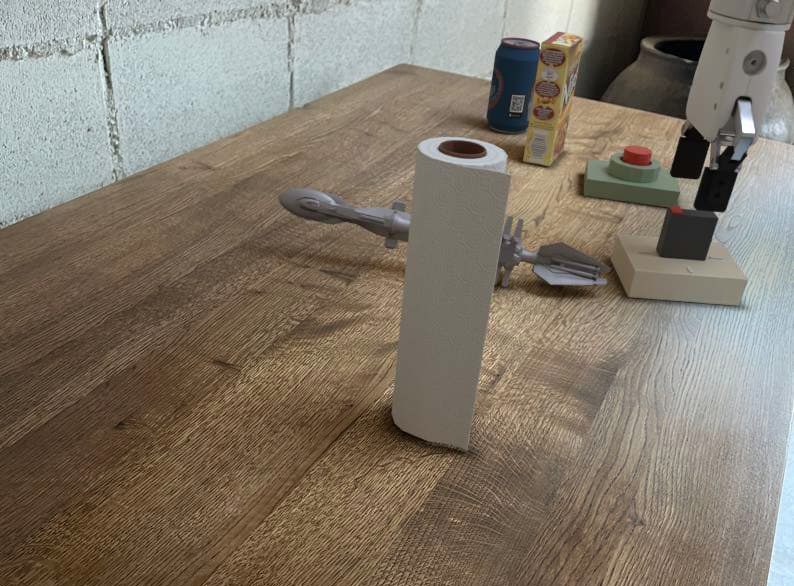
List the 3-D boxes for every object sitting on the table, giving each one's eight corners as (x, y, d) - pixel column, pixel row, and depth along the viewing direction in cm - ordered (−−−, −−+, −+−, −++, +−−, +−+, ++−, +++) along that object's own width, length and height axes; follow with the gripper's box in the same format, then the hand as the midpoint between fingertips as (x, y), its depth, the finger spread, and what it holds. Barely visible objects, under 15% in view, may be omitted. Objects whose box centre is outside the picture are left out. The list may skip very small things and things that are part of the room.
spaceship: (292, 160, 97) (279, 152, 90) (612, 237, 98) (626, 235, 90) (278, 237, 100) (264, 235, 92) (591, 312, 100) (603, 316, 92)
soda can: (481, 120, 144) (493, 34, 136) (524, 123, 145) (538, 38, 137) (489, 133, 139) (502, 45, 131) (534, 136, 140) (549, 48, 132)
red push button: (648, 161, 122) (651, 147, 121) (649, 169, 120) (653, 155, 118) (621, 157, 123) (624, 143, 122) (621, 165, 120) (625, 151, 119)
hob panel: (713, 267, 105) (722, 240, 103) (739, 306, 97) (749, 277, 95) (610, 259, 104) (616, 232, 102) (627, 297, 97) (635, 268, 95)
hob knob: (700, 253, 100) (714, 208, 97) (705, 260, 98) (719, 215, 95) (655, 249, 99) (667, 205, 96) (659, 257, 98) (672, 211, 95)
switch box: (671, 186, 126) (679, 156, 124) (675, 208, 119) (684, 177, 117) (584, 174, 127) (590, 144, 125) (583, 195, 120) (590, 164, 118)
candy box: (549, 168, 128) (572, 46, 119) (520, 162, 129) (540, 41, 120) (564, 151, 135) (586, 35, 125) (536, 146, 136) (556, 30, 126)
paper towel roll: (392, 398, 77) (418, 129, 63) (464, 404, 77) (505, 137, 63) (389, 446, 71) (417, 162, 58) (467, 452, 71) (512, 171, 58)
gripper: (828, 28, 77) (757, 228, 88) (763, -8, 91) (708, 169, 101) (741, 18, 77) (681, 220, 88) (688, -16, 90) (642, 163, 101)
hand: (695, 193), depth 95 cm, fingers open, 9 cm apart
